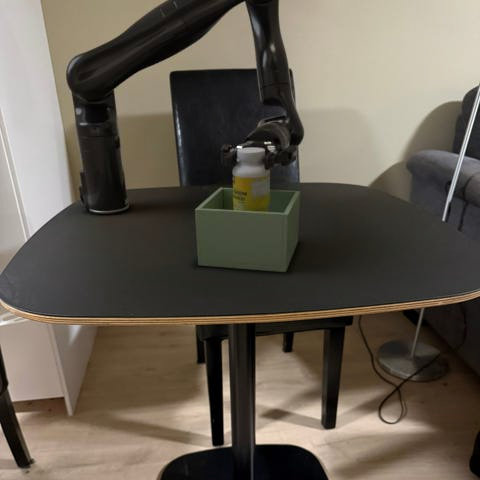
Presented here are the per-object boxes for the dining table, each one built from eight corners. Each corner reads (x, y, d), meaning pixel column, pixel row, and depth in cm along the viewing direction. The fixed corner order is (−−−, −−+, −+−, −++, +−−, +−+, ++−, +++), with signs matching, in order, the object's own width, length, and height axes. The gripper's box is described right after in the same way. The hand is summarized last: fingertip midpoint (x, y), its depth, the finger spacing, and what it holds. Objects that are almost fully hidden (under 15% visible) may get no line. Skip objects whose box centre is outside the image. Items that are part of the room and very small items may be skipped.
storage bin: (198, 265, 84) (194, 209, 80) (221, 236, 98) (219, 187, 93) (285, 272, 81) (288, 214, 76) (297, 241, 94) (300, 190, 90)
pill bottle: (232, 212, 89) (230, 147, 83) (267, 211, 89) (267, 145, 84) (235, 223, 83) (233, 154, 78) (272, 221, 84) (273, 152, 78)
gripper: (230, 124, 93) (205, 138, 79) (304, 125, 90) (291, 139, 76) (231, 164, 97) (207, 184, 83) (302, 166, 94) (290, 187, 80)
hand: (248, 162), depth 79 cm, fingers closed on pill bottle, 5 cm apart
